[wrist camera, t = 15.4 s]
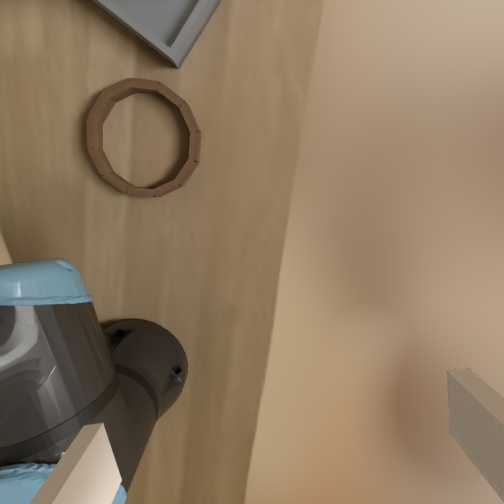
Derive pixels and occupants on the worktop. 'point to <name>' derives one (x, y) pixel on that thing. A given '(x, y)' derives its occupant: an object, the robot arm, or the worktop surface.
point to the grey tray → (163, 22)
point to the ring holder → (96, 135)
